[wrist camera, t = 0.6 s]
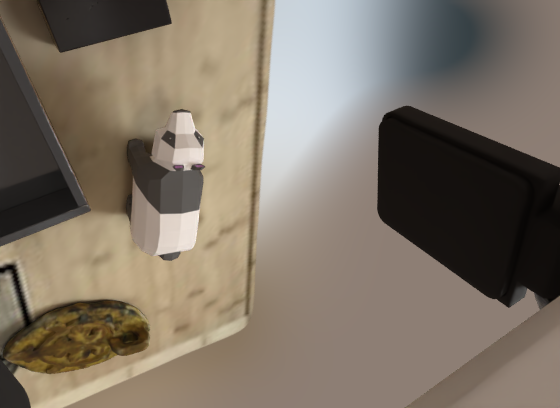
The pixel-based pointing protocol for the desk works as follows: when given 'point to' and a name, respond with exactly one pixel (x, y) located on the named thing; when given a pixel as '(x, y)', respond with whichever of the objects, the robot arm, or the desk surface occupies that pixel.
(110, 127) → the desk surface
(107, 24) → the black knob plate
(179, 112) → the giant panda
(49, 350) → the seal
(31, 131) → the dark grey shallow box
